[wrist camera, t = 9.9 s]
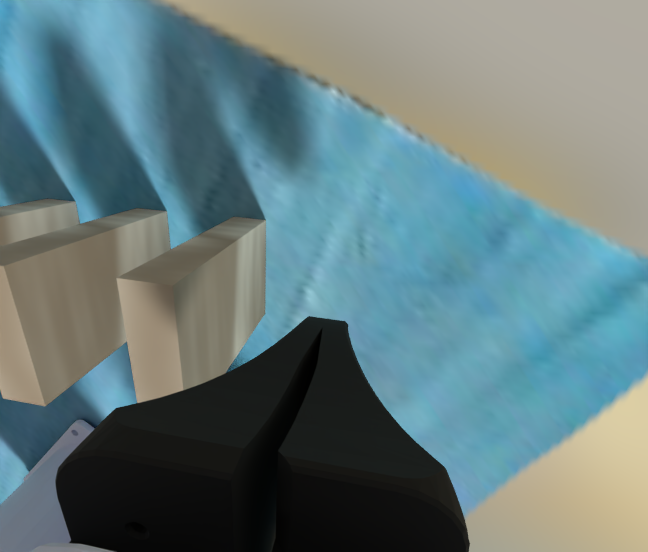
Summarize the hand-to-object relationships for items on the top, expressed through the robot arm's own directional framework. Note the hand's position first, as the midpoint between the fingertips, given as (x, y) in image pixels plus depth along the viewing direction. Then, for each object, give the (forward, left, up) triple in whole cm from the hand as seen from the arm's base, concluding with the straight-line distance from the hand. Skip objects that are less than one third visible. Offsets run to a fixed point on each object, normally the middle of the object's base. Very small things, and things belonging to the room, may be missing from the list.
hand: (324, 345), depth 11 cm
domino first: (-3, +4, -6) cm, 8 cm away
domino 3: (-6, +7, -6) cm, 11 cm away
